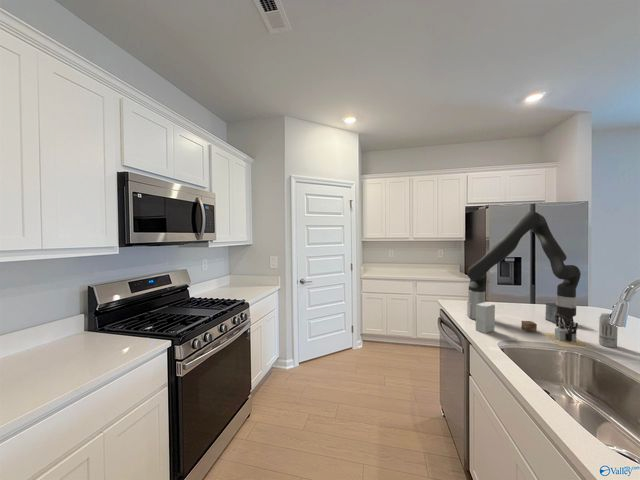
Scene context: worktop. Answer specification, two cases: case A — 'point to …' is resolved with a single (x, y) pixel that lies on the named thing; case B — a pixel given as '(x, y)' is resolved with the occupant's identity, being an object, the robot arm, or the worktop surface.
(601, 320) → the energy drink can
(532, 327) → the walnut cube
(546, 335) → the letter
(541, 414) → the worktop surface
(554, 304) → the small box
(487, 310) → the skincare box
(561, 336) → the grey block
